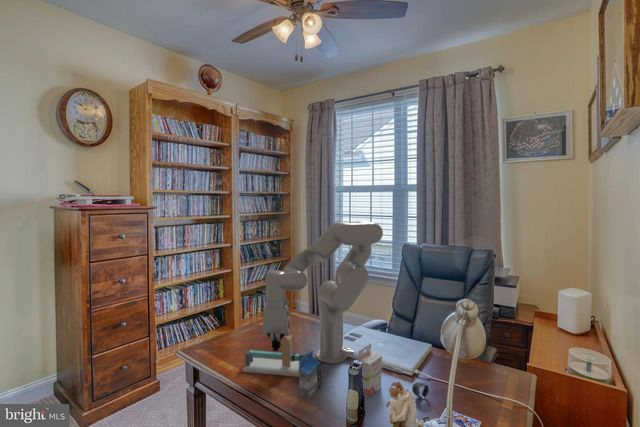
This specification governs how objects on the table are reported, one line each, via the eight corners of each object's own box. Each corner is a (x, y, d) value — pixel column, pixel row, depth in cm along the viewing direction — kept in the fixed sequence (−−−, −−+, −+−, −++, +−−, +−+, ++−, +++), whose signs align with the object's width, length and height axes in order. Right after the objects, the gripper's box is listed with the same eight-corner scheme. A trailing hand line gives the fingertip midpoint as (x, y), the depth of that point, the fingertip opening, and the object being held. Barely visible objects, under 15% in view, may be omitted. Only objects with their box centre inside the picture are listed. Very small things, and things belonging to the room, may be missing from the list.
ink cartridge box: (369, 399, 108) (369, 355, 107) (356, 393, 111) (357, 351, 110) (382, 387, 115) (382, 346, 114) (369, 382, 118) (370, 342, 117)
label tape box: (309, 400, 108) (309, 363, 107) (298, 396, 110) (298, 360, 109) (321, 386, 115) (322, 352, 115) (312, 383, 117) (312, 349, 117)
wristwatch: (412, 397, 109) (412, 382, 109) (425, 395, 110) (426, 380, 110) (416, 402, 106) (417, 387, 106) (430, 400, 107) (431, 385, 107)
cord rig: (308, 364, 130) (308, 347, 129) (304, 377, 121) (304, 358, 120) (251, 359, 134) (251, 342, 133) (242, 371, 125) (242, 353, 124)
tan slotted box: (292, 360, 128) (292, 335, 128) (289, 366, 124) (289, 340, 123) (285, 360, 129) (285, 334, 128) (282, 365, 125) (282, 339, 124)
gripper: (297, 301, 128) (297, 346, 129) (260, 299, 131) (261, 343, 132) (292, 307, 121) (292, 355, 122) (253, 305, 123) (254, 352, 124)
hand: (276, 349), depth 127 cm, fingers closed
